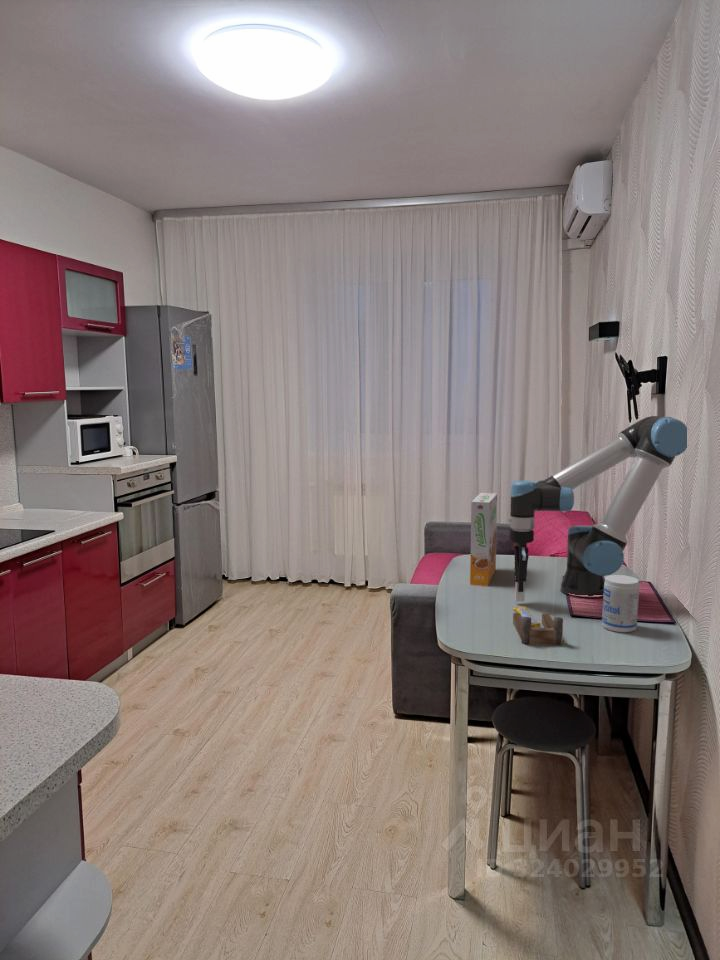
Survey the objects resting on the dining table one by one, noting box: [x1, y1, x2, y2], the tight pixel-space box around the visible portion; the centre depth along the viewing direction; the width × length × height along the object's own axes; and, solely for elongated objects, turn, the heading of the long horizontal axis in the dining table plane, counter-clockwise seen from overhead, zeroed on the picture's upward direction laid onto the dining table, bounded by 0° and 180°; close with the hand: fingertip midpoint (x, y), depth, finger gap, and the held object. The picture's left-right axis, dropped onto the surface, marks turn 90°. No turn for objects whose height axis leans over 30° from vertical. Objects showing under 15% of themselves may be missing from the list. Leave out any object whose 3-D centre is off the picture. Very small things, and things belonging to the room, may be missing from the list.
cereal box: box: [469, 492, 498, 587], centre depth 256 cm, size 22×6×30 cm, turn 162°
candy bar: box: [513, 606, 541, 628], centre depth 211 cm, size 17×4×2 cm, turn 2°
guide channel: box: [512, 612, 564, 646], centre depth 198 cm, size 11×18×7 cm, turn 177°
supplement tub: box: [601, 574, 640, 633], centre depth 202 cm, size 10×10×15 cm
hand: (519, 600), depth 225 cm, fingers closed
